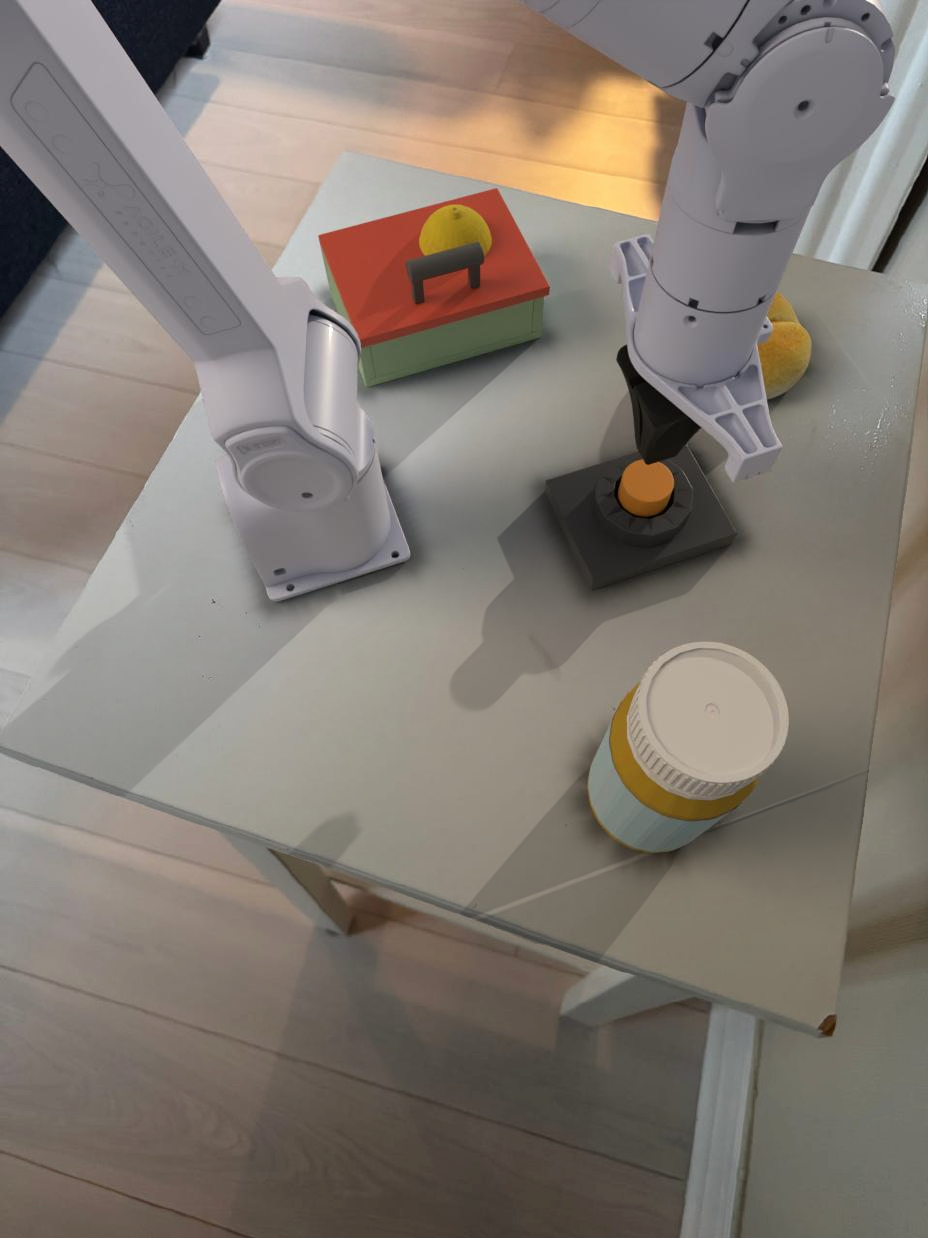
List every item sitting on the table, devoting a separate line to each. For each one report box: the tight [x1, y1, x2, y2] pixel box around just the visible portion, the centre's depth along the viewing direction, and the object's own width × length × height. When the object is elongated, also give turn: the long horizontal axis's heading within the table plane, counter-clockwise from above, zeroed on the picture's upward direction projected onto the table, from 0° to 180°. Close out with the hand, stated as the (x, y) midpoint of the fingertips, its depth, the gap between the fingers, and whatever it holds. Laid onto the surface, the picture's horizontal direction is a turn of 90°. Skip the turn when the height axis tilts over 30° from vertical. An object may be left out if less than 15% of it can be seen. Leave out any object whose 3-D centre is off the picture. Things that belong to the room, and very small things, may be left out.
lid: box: [317, 187, 551, 348], centre depth 56 cm, size 10×14×4 cm
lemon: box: [419, 205, 492, 256], centre depth 60 cm, size 6×6×8 cm
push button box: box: [544, 443, 738, 591], centre depth 54 cm, size 10×8×3 cm
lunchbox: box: [319, 244, 545, 388], centre depth 61 cm, size 10×14×5 cm
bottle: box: [586, 641, 790, 854], centre depth 41 cm, size 7×7×15 cm
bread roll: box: [757, 291, 813, 400], centre depth 59 cm, size 8×9×4 cm
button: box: [618, 460, 674, 517], centre depth 52 cm, size 3×3×2 cm
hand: (656, 451), depth 48 cm, fingers closed
